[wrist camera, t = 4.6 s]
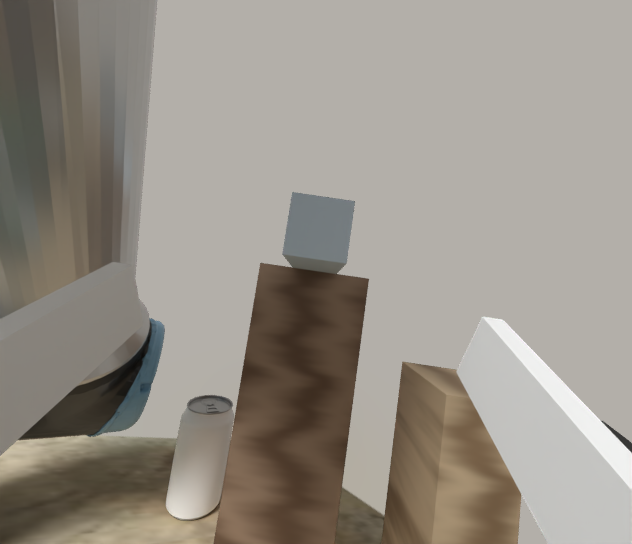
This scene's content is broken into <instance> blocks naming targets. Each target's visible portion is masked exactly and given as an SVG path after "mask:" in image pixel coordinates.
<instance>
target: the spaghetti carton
mask: <svg viewBox="0 0 632 544" xmlns="http://www.w3.org/2000/svg"><path fill="white" fill-rule="evenodd" d="M354 205H355V201H350V200H343V199H336V198H329V197H322V196H316V195H309V194H302V193H294V192H293V193H292V197H291V204H290V210H289V216H288V222H287V229H286V235H285V242H284V247H283V256H284V257H285V258H286V259H287V261H288V262H289V263H290V265H291V266H292V267H293V268H298V269H305V270H312V271H319V272H326V273H332V274H337V273H338V272H339V271H340V270H341V268H343V267H344V265H346V263H347V256H348V249H349V242H350V234H351V227H352V220H353V212H354Z"/></svg>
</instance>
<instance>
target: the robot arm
mask: <svg viewBox="0 0 632 544" xmlns="http://www.w3.org/2000/svg"><path fill="white" fill-rule="evenodd" d="M156 10H157V0H0V456H1V455H2V454H3V453H4V452H5V451H6V450H7V449H8V448H9V447H10V446H11V445H13V444H14V443H15V442H16V441H17V440H29V439H41V438H54V437H67V436H79V435H87V436H89V437H91V436H98V435H100V434H102V433H107V432H116V431H122V430H126V429H128V428H130V427H131V426H132V425H134V424H135V423H136V422H137V421H138V419H139V418H140V416H141V414H142V412H143V410H144V407H145V405H146V402H147V400H148V397H149V393H150V390H151V384H152V382H153V379H154V377H155V374H156V371H157V367H158V363H159V359H160V355H161V350H162V346H163V340H164V332H165V329H164V325H163V324H162V323H161V322H159V321H155V320H153V319H150V318H149V313H148V311H147V308H146V307H145V305H144V304H143V303H142V302H141V300H140V299H139V297H138V292H137V286H136V280H135V275H136V262H137V250H138V236H139V224H140V211H141V199H142V186H143V173H144V161H145V149H146V136H147V123H148V111H149V97H150V84H151V73H152V59H153V47H154V35H155V22H156ZM456 372H457V374H458V376H459V378H460V380H461V382H462V384H463V386H464V387H465V389H466V391H467V393H468V395H469V397H470V399H471V401H472V402H473V404H474V406H475V408H476V410H477V412H478V414H479V416H480V417H481V419H482V421H483V423H484V425H485V427H486V429H487V431H488V432H489V434H490V436H491V438H492V440H493V442H494V444H495V446H496V447H497V449H498V451H499V453H500V455H501V457H502V459H503V461H504V463H505V464H506V466H507V468H508V470H509V472H510V474H511V476H512V478H513V479H514V481H515V483H516V485H517V487H518V489H519V491H520V493H521V494H522V496H523V498H524V500H525V502H526V504H527V506H528V507H529V509H530V511H531V513H532V515H533V517H534V519H535V521H536V523H537V524H538V526H539V528H540V530H541V532H542V534H543V536H544V537H545V540H546V541H547V543H548V544H632V443H631V442H630V441H629V440H627V439H626V438H625V437H623V436H622V435H621V434H619V433H618V432H617V431H615V430H614V429H613V428H611V427H610V426H609V425H607V424H606V423H605V422H603V421H600V420H599V419H598V418H597V417H596V416H595V415H594V414H593V412H592V411H591V410H589V408H588V407H587V406H586V405H585V404H584V403H583V402H582V401H581V400H580V399H579V398H578V397H577V396H576V395H575V394H574V393H573V392H572V391H571V390H570V389H569V388H568V387H567V386H566V384H565V383H564V382H563V381H562V380H561V379H560V378H559V377H558V376H557V375H556V374H555V373H554V372H553V371H552V370H551V369H550V368H549V367H548V366H547V365H546V364H545V363H544V362H543V361H542V360H541V359H540V358H539V357H538V356H537V355H536V353H534V351H533V350H532V349H531V348H530V347H529V346H528V345H527V344H526V343H525V342H524V341H523V340H522V339H521V338H520V337H519V336H518V335H517V334H516V333H515V332H514V331H513V330H512V329H511V328H510V327H509V326H508V324H507V323H506V322H505V321H504V320H501V319H495V318H488V317H482V318H481V321H480V323H479V325H478V327H477V329H476V331H475V333H474V335H473V337H472V339H471V342H470V344H469V346H468V348H467V350H466V352H465V354H464V357H463V359H462V361H461V363H460V365H459V367H458V369H457V371H456Z"/></svg>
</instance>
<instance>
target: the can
mask: <svg viewBox="0 0 632 544" xmlns="http://www.w3.org/2000/svg"><path fill="white" fill-rule="evenodd" d="M232 406H233V403H232V401H231V400H230V399H228V398H225V397H222V396H216V395H205V396H199V397H195V398H193V399H191V400H190V401H189V402H188V403H187V408H186V410H185V411H184V413H183V415H182V417H181V421H180V427H179V432H178V437H177V442H176V448H175V453H174V459H173V464H172V470H171V475H170V481H169V486H168V492H167V498H166V508H167V510H168V512H169V513H170V514H171V515H172V516H173V517H174V518H176V519H179V520H185V521H190V520H196V519H199V518H202V517H204V516H206V515H207V514H209V513H210V512H211V511H212V510H213V509H214V508H215V507H216V506H217V505H218V503H219V501H220V498H221V493H222V487H223V482H224V476H225V470H226V464H227V458H228V452H229V446H230V440H231V434H232V427H233V421H234V414H233V410H232Z"/></svg>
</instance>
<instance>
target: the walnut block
mask: <svg viewBox="0 0 632 544" xmlns="http://www.w3.org/2000/svg"><path fill="white" fill-rule="evenodd" d="M368 281H369V279H366V278H360V277H353V276H345V275H339V274H332V273H326V272H319V271H312V270H305V269H298V268H291V267H285V266H278V265H271V264H264V263H260V269H259V275H258V281H257V287H256V293H255V299H254V305H253V311H252V317H251V323H250V330H249V335H248V341H247V347H246V353H245V359H244V366H243V371H242V377H241V383H240V389H239V395H238V401H237V407H236V413H235V419H234V425H233V431H232V437H231V443H230V449H229V455H228V461H227V467H226V473H225V479H224V485H223V491H222V497H221V503H220V509H219V515H218V521H217V527H216V533H215V539H214V544H334V543H335V535H336V527H337V520H338V512H339V504H340V497H341V489H342V481H343V474H344V466H345V458H346V451H347V443H348V435H349V427H350V420H351V411H352V404H353V397H354V389H355V381H356V373H357V366H358V358H359V351H360V343H361V335H362V327H363V320H364V312H365V305H366V297H367V289H368Z"/></svg>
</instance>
